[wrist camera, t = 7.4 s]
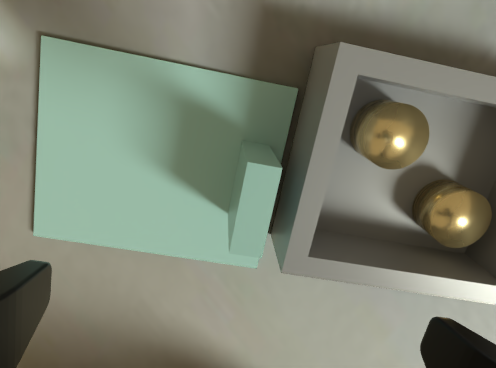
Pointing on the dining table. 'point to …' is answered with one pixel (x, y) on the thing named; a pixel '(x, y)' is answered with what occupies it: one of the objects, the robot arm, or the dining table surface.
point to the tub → (386, 177)
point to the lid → (156, 154)
